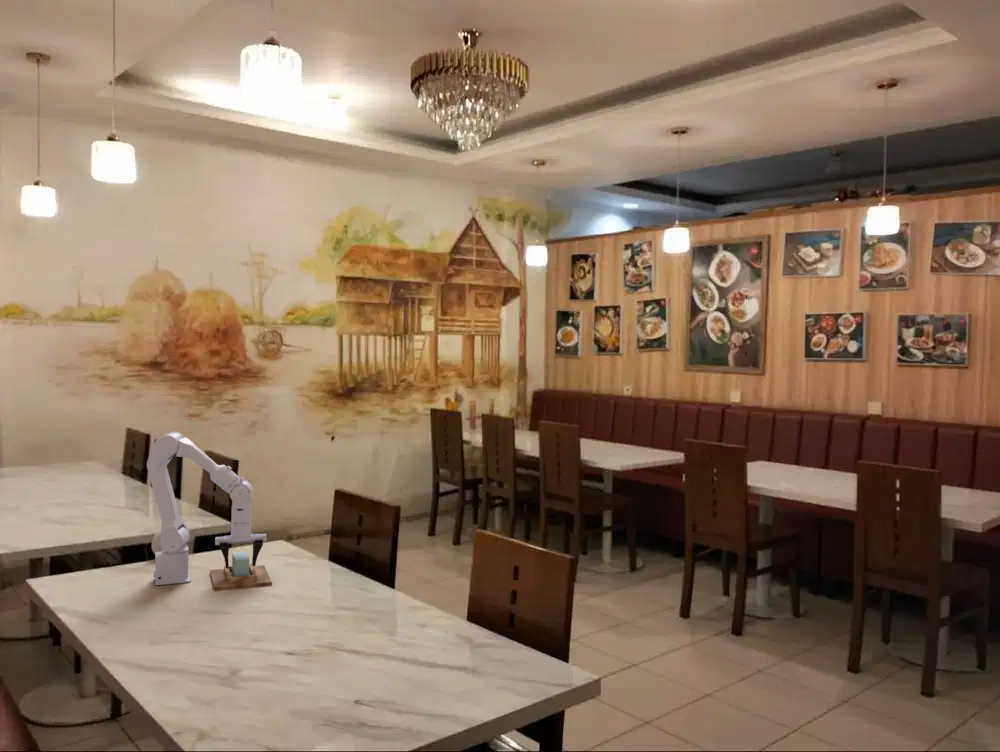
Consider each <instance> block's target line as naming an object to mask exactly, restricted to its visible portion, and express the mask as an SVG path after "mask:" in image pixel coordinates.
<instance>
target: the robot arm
mask: <svg viewBox="0 0 1000 752" xmlns="http://www.w3.org/2000/svg"><path fill="white" fill-rule="evenodd" d="M173 457H179V458H187V459H189V460H191V461H192V462H194V463H195V464H197V465H198V466H199V467H200V468H202V469H203V470H205V471H206V472H208V473H209V476H210V480H211V481H212V482H213V483H215V484H216V485H217V486H218V487H220V489H222V490H223V491H224V492H225V493H227V494H229V497H230V499H231V502H232V503H231V504H232V505H231V524H230V525H231V528H230V535H224V536H223V535H221V536H216V537H214V538H215V540H214V543H215V546H219V549H220V551H221V553H222V556H223V558H224V559H223V560H224V563H225V565H224V566H226V568H229V566H230V565H229V551H230V549H229V548H230V547H229V544H242V543H252V560H251V564H252V565H253V566H257V559H258V556H259V553H260V552H261V550H262V547H263V546H264V542H267V533H252V515H253V514H252V497H251V496H252V495H253V494H254V487H253V484H252V483H250V481H249V480H247V479H245V478H244V477H243V476H241V477H240V476H239V475H238V474H236V473H235V472H234V471H233V470H232V469H233V468H232V467H231V466H230V465H225V464H217V463H216V462H215V461H214V460H213V459H212V458H211V457H209V455H208V454H206V453H205V452H204V451H203V450H201V449H200V448H199V446H197V445H196V444H195V443H194V442H193V441H192V440H190V439H189V438H188V437H186V436H185V437H184V435H183V434H182V433H180V432H179V431H170V432H167V434H162V435H161V436H158V438H157V439H156V440H155V441H154V442H153V443H152V444H151V450H150V453H149V455H148V459H147V462H146V469H147V471H148V472H147V473H148V475H149V479H150V483H151V486H152V491H153V494H154V499H155V501H156V506H157V509H158V513H159V516H160V517H159V518H160V520H161V526H160V530H161V534H162V538H161V547H162V551H161V552H156V553H155V554H154V555H155V556H154V557H155V558H154V566H155V567H154V571H153V578H154V585H155V586H162V585H174V584H175V585H176V584H183V583H184V584H185V583H191V576H190V573H189V562H190V561H189V559H190V558H189V557H190V555H189V552H190V551H189V550H190V549H189V546H188V544H187V543H189V541H190V539H191V530H190V529H189V528H188V527H187V526H186V524H185V521H184V519H183V517H181V515H180V512H179V506H178V504H177V500H176V496H175V492H174V488H173V485H172V481H171V477H170V473H169V469H168V464H170V461H171V460H172V459H173Z"/></svg>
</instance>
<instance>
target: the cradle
mask: <svg viewBox="0 0 1000 752" xmlns="http://www.w3.org/2000/svg"><path fill="white" fill-rule="evenodd" d="M209 572H210V573H209V574H210V578H211V582H212V588H213V591H214V592H216V591H218V592H219V591H227V590H237V589H247V588H257V587H268V585H269V586H272V585H273V581H272V579H271V577H270V575H269V573H268V571H267V568H266V567H265V565H264V564H263V565H262V564H261V565H255V566H253V565H252V563H249V576H238V577H233V574H232V564H230V565H229V568H226V565H224V566H223V568H217V569H209Z"/></svg>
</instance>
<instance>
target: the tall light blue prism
mask: <svg viewBox="0 0 1000 752" xmlns="http://www.w3.org/2000/svg"><path fill="white" fill-rule="evenodd" d="M231 556H232V557H231V565H232V574H233V577H238V576H249V564H250V558H249V555H248V553H247V551H235V552H233V551H232V553H231Z"/></svg>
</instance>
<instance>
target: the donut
mask: <svg viewBox="0 0 1000 752" xmlns="http://www.w3.org/2000/svg"><path fill="white" fill-rule="evenodd" d="M161 538H162V534H161V529H160V530H159V531H157V532H156V534H154V536H153V538H152V540H151V550H152V552H153V554H154V555H155V553H156V552H161V551H162V547H161Z"/></svg>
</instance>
